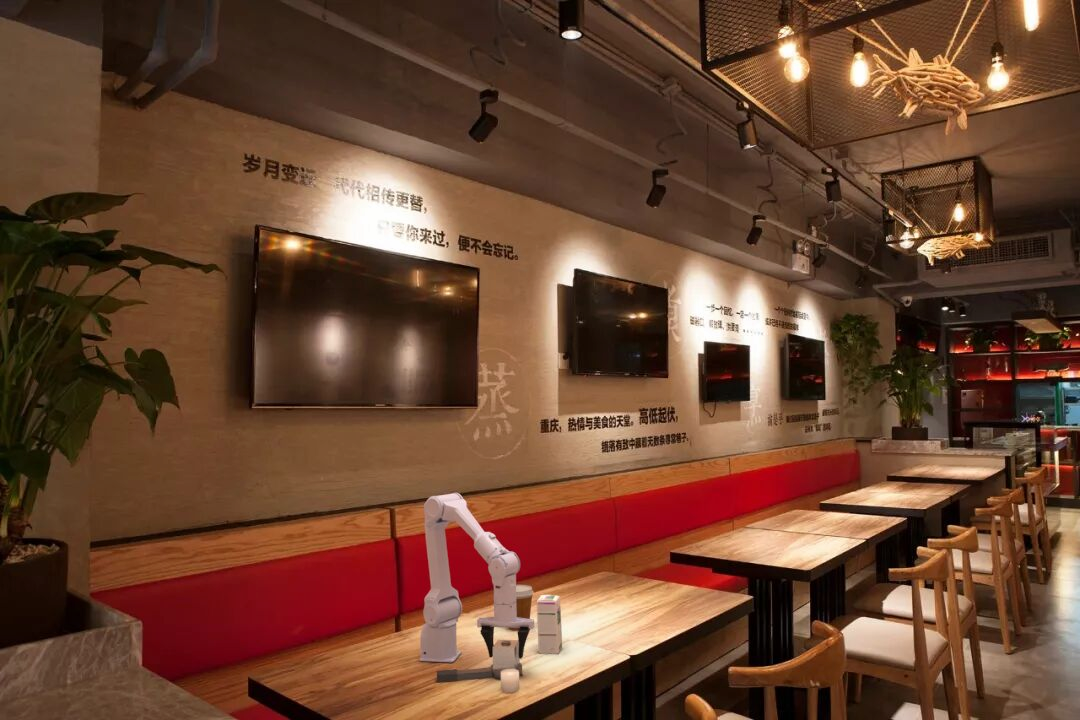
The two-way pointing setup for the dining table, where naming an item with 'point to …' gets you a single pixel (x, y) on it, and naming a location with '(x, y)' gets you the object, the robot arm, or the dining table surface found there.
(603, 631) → the dining table surface
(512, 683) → the pale pink cylinder
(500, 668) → the tan square block
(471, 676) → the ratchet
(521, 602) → the disposable coffee cup
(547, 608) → the syrup box
